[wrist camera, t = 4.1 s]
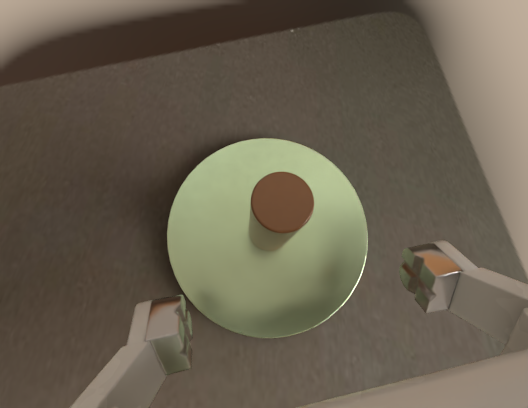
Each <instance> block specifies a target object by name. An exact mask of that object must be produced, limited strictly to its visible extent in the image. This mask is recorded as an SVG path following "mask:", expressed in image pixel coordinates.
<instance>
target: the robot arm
mask: <svg viewBox="0 0 528 408" xmlns="http://www.w3.org/2000/svg"><path fill="white" fill-rule="evenodd" d="M402 257H403V259H404V260H405V261H404V262H403V263H402V264H401V265H400V271H399V273H400V278H401V281H402V283H403V285H404V286H405V288H406V289H407V290H408V291H410V292H412V293H414V294H415V300H416V302H417V303H418V304H419V305H420V307H421V308H422V309H423V310H424V312H425V313H426V314H429V313H434V312H439V311H444V310H448V309H449V311H450V312H452V313H453V314H455V315H457V316H458V317H460V318H462V319H463V320H465V321H467V322H468V323H470V324H472V325H473V326H475V327H477V328H478V329H480V330H482V331H483V332H485V333H487V334H488V335H490V336H491V337H493V338H495V339H496V340H498V341H500V342H501V343H503V344H505V347H504V349H503V351H502V353H501V355H499V356H496V357H492V358H488V359H484V360H480V361H476V362H472V363H468V364H464V365H460V366H457V367H453V368H449V369H445V370H441V371H437V372H433V373H429V374H425V375H421V376H417V377H414V378H410V379H406V380H402V381H398V382H394V383H390V384H386V385H382V386H378V387H374V388H371V389H367V390H363V391H359V392H355V393H351V394H347V395H343V396H340V397H336V398H332V399H328V400H324V401H320V402H316V403H312V404H309V405H305V406H301V407H297V408H528V284H525V283H523V282H520V281H517V280H515V279H512V278H509V277H506V276H504V275H501V274H498V273H496V272H493V271H490V270H488V269H485V268H477V267H476V266H475V265H474V264H473V263H472V262H471V261H469V260H468V259H467V258H466V257H465V256H464V255H462V254H461V253H460V252H459V251H458V250H457V249H456V248H454V247H453V246H452V245H451V244H450V243H449V242H447V241H445V240H441V241H437V242H432V243H428V244H423V245H418V246H414V247H409V248H405V249H404V251H403V254H402ZM191 340H192V322H191V317H190V313H189V311H188V310H186V301H185V299H184V296H183V295H177V296H172V297H166V298H161V299H155V300H152V301H146V302H141V303H137V305H136V306H135V309H134V314H133V318H132V323H131V327H130V332H129V336H128V341H127V346H123V347H121V348H120V350H119V351H118V352H117V353H116V354H115V355H114V357H113V358H112V359H111V360H110V361H109V362H108V364H107V365H106V366H105V367H104V368H103V369H102V370H101V372H100V373H99V374H98V375H97V376H96V377H95V379H94V380H93V381H92V382H91V383H90V384H89V386H88V387H87V388H86V389H85V390H84V391H83V393H82V394H81V395H80V396H79V397H78V398H77V400H76V401H75V402H74V403H73V404H72V405H71V407H70V408H149V407H150V405H151V403H152V401H153V399H154V398H155V396H156V394H157V392H158V391H159V389H160V387H161V385H162V383H163V382H164V380H165V378H166V375H169V374H173V373H177V372H181V371H185V370H189V369H192V348H191V345H190V341H191Z"/></svg>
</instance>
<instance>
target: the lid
mask: <svg viewBox="0 0 528 408" xmlns="http://www.w3.org/2000/svg"><path fill="white" fill-rule="evenodd" d="M367 247H368V232H367V223H366V218H365V213H364V210H363V207H362V204H361V202H360V199H359V197H358V195H357V193H356V191H355V189H354V188H353V186H352V185H351V183H350V182H349V180H348V179H347V178H346V176H345V175H344V174H343V173H342V172H341V170H340V169H339V168H338V167H336V166H335V165H334V164H333V163H332V162H331V161H330V160H328V159H327V158H326V157H324V156H323V155H322V154H320V153H318V152H316V151H315V150H313V149H311V148H309V147H306V146H304V145H302V144H299V143H295V142H292V141H288V140H282V139H276V138H258V139H250V140H245V141H240V142H237V143H234V144H231V145H228V146H226V147H224V148H222V149H220V150H218V151H216V152H215V153H213V154H211V155H210V156H208V157H207V158H206V159H204V160H203V161H202V162H201V163H200V164H198V165H197V166H196V167H195V169H194V170H193V171H192V172H191V173H190V174H189V175H188V177H187V178H186V179H185V181H184V182H183V184H182V185H181V187H180V189H179V191H178V193H177V194H176V196H175V199H174V202H173V204H172V207H171V211H170V215H169V219H168V227H167V248H168V254H169V259H170V263H171V266H172V269H173V273H174V275H175V277H176V279H177V281H178V283H179V286H180V287H181V289H182V290H183V292H184V293H185V295H186V296H187V298H188V299H189V300H190V301H191V303H192V304H193V305H194V306H195V307H196V308H197V309H198V310H199V311H200V312H201V313H202V314H204V315H205V316H206V317H207V318H208V319H210V320H211V321H213V322H215V323H216V324H218V325H219V326H221V327H223V328H226V329H228V330H230V331H232V332H235V333H238V334H242V335H245V336H250V337H257V338H280V337H287V336H292V335H295V334H299V333H302V332H305V331H307V330H309V329H312V328H314V327H316V326H318V325H319V324H321V323H322V322H324V321H326V320H327V319H328V318H330V317H331V316H332V315H333V314H334V313H336V312H337V311H338V310H339V309H340V308H341V307H342V305H343V304H344V303H345V302H346V301H347V300H348V298H349V297H350V295H351V294H352V292H353V291H354V289H355V287H356V285H357V283H358V281H359V279H360V277H361V274H362V271H363V268H364V265H365V261H366V255H367Z"/></svg>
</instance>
